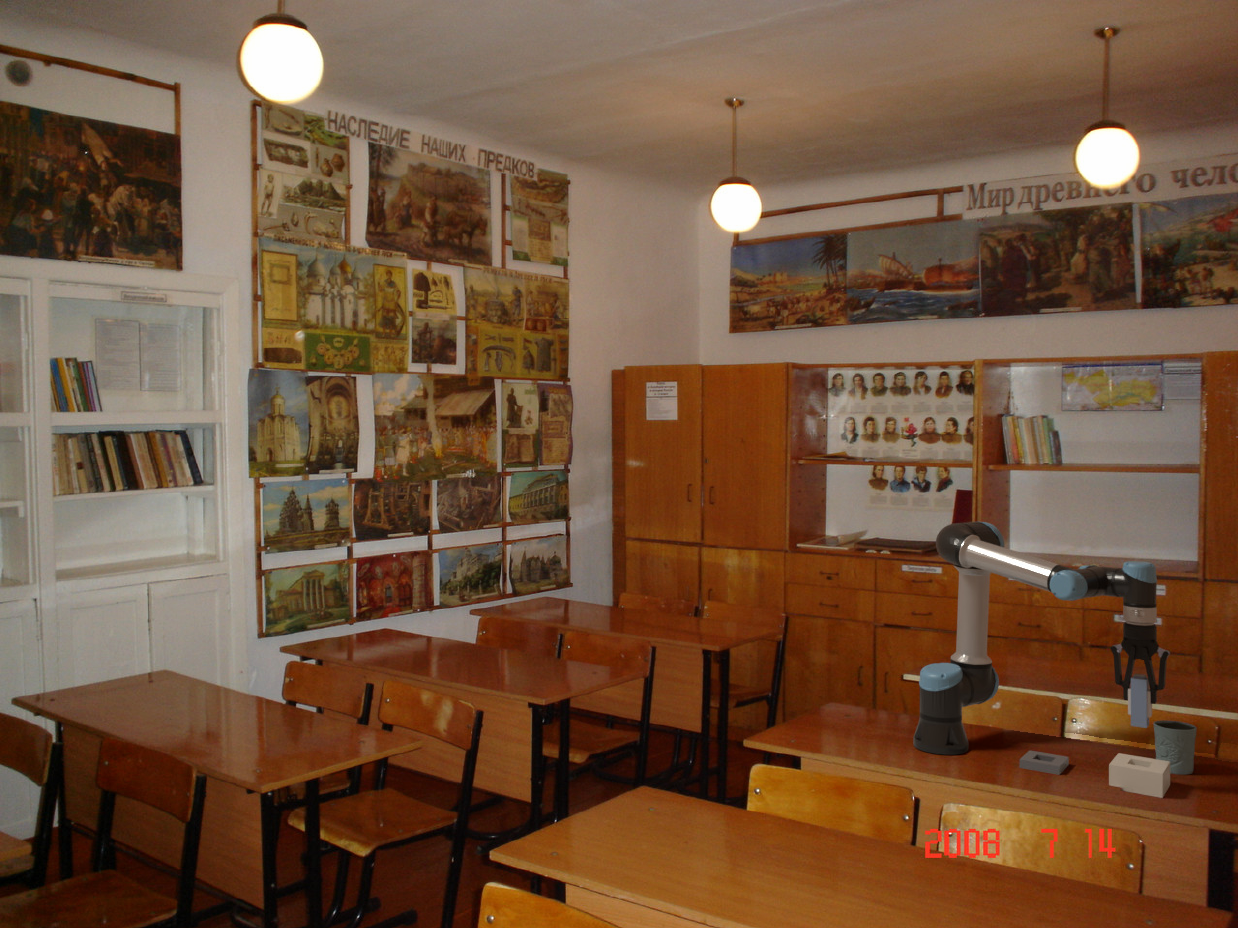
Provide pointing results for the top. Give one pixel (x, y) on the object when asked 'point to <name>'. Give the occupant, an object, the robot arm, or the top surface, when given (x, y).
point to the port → (1140, 775)
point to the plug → (1139, 700)
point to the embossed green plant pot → (1175, 745)
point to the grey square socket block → (1044, 762)
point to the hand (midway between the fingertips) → (1140, 714)
